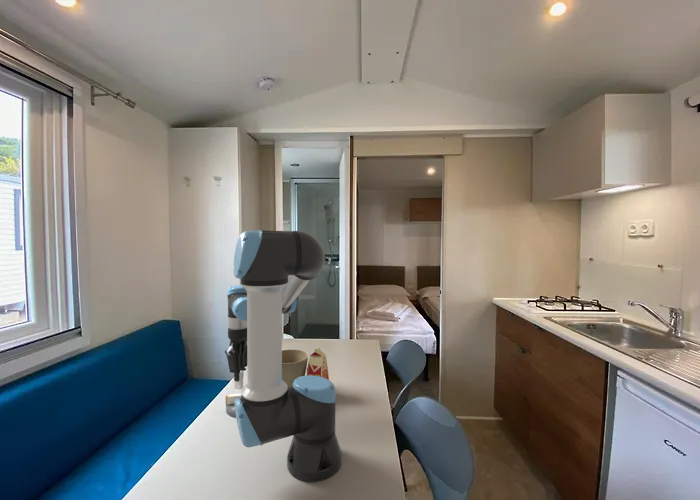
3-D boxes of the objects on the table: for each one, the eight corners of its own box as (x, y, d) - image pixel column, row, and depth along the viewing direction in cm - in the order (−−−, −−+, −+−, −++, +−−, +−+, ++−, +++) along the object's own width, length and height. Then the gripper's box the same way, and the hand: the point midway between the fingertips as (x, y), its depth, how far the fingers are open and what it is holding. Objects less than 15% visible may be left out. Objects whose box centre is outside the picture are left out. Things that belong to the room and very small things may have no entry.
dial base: (252, 420, 111) (252, 414, 111) (217, 414, 115) (217, 408, 115) (272, 400, 125) (272, 395, 125) (241, 395, 129) (240, 390, 128)
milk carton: (325, 403, 123) (325, 351, 122) (301, 401, 125) (301, 349, 124) (331, 392, 132) (331, 343, 131) (309, 390, 134) (309, 342, 133)
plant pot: (268, 389, 134) (268, 351, 134) (304, 384, 139) (304, 347, 138) (271, 407, 120) (271, 364, 119) (311, 401, 125) (311, 360, 124)
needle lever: (251, 398, 122) (251, 386, 122) (251, 403, 118) (251, 391, 118) (226, 401, 120) (226, 389, 120) (225, 406, 116) (225, 394, 116)
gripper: (240, 321, 129) (241, 379, 130) (218, 330, 117) (218, 394, 118) (257, 323, 127) (257, 382, 128) (235, 332, 115) (236, 398, 116)
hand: (238, 388), depth 123 cm, fingers closed
